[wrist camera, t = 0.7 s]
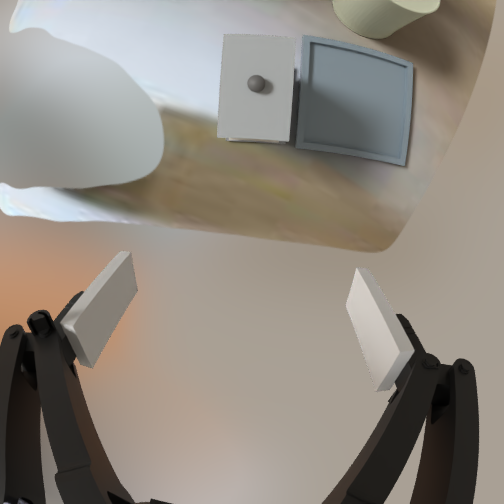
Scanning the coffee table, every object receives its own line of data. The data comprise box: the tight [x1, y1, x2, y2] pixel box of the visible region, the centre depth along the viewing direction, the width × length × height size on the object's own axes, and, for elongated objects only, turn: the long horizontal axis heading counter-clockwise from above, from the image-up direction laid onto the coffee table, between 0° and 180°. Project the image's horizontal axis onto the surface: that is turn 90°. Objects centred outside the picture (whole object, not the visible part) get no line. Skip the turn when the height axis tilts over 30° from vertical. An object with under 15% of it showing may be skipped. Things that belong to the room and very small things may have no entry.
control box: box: [217, 34, 296, 144], centre depth 22 cm, size 10×7×15 cm
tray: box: [295, 35, 413, 166], centre depth 27 cm, size 15×15×1 cm
